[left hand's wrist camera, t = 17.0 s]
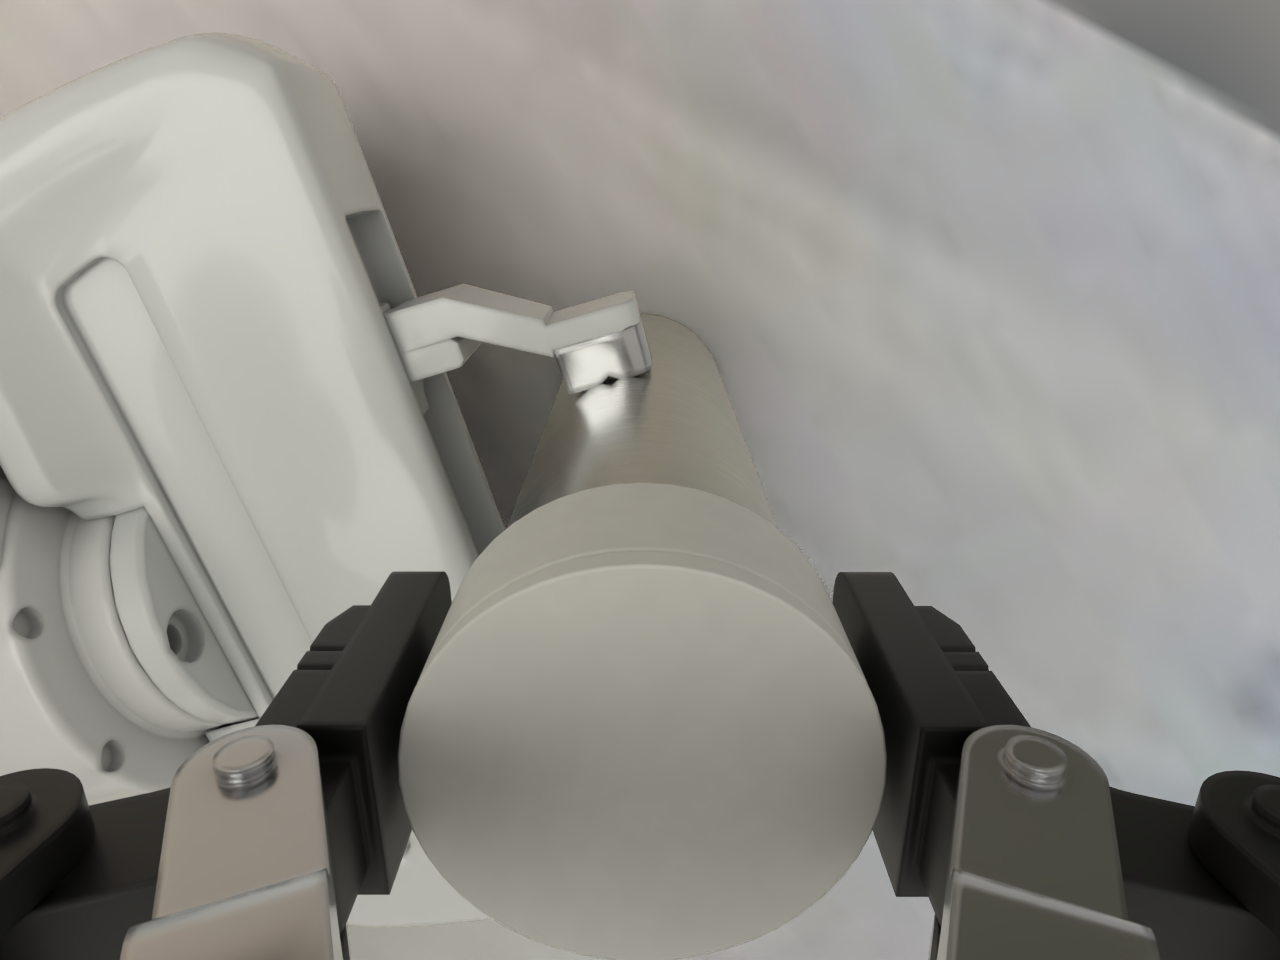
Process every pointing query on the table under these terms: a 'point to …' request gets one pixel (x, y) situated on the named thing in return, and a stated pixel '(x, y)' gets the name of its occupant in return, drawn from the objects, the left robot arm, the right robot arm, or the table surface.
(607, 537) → the lid
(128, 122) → the right robot arm
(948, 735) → the left robot arm
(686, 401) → the cylinder
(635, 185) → the table surface
